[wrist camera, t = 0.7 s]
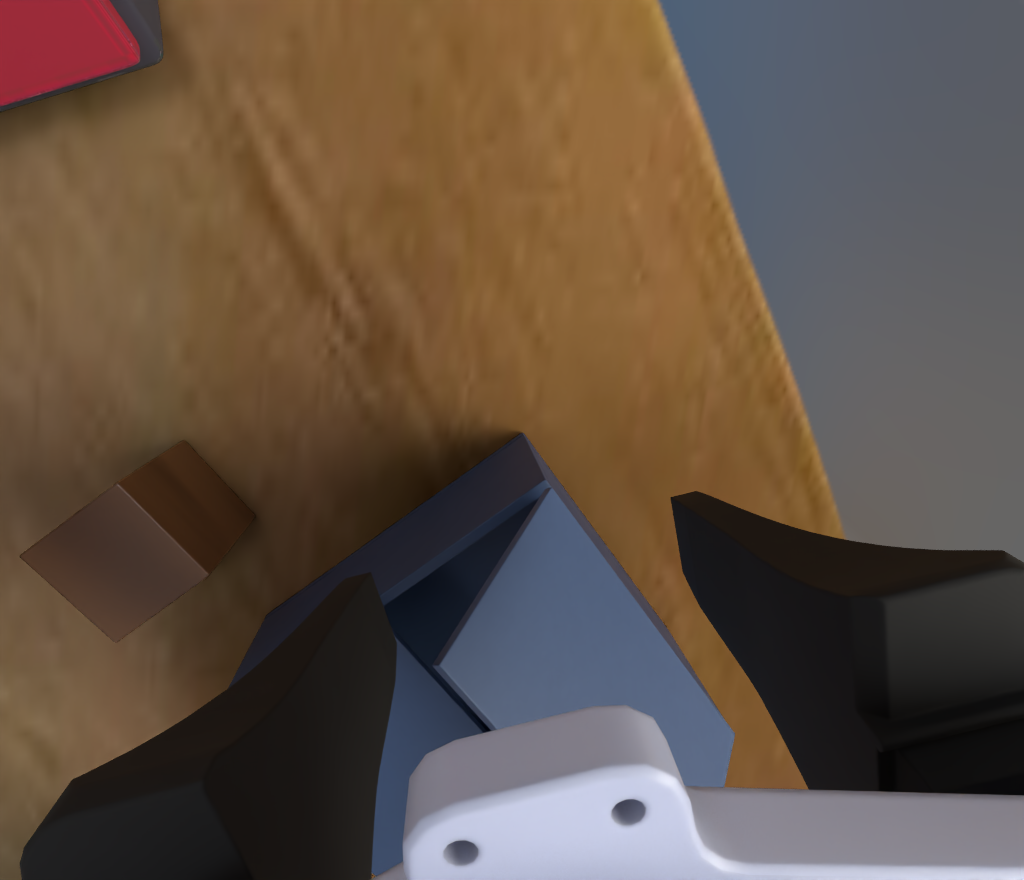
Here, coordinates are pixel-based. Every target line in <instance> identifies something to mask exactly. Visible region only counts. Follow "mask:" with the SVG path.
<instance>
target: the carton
mask: <svg viewBox="0 0 1024 880" xmlns="http://www.w3.org/2000/svg"><path fill="white" fill-rule="evenodd" d="M550 487H552V488H553V489H554V491H555V492H556V493H557V495H558V496H559V497H560V499H561V500H562V501H563V503H564V504H565V506H566V507H567V508H568V510H569V511H570V512H571V514H572V515H573V516H574V518H575V519H576V520H577V522H578V523H579V524H580V526H581V527H582V528H583V530H584V531H585V532H586V534H587V535H588V537H589V538H590V539H591V541H592V542H593V543H594V545H595V546H596V547H597V549H598V550H599V551H600V553H601V554H602V555H603V557H604V558H605V559H606V561H607V562H608V563H609V565H610V566H611V568H612V569H613V570H614V572H615V573H616V574H617V576H618V577H619V578H620V580H621V581H622V582H623V584H624V585H625V586H626V588H627V589H628V590H629V592H630V593H631V594H632V596H633V597H634V599H635V600H636V601H637V603H638V604H639V605H640V607H641V608H642V609H643V611H644V612H645V613H646V615H647V616H648V617H649V619H650V620H651V621H652V623H653V624H654V625H655V627H656V628H657V630H658V631H659V632H660V634H661V635H662V636H663V638H664V639H665V640H666V642H667V643H668V644H669V646H670V647H671V648H672V650H673V651H674V652H675V654H676V655H677V657H678V658H679V659H680V661H681V662H682V663H683V665H684V666H685V667H686V669H687V670H688V671H689V673H690V674H691V675H692V677H693V678H694V679H695V681H696V682H697V683H698V685H699V686H700V688H701V689H702V690H703V692H704V693H705V694H706V696H707V697H708V698H709V700H710V701H711V702H712V704H713V705H714V706H715V704H714V702H713V701H712V699H711V697H710V696H709V694H708V693H707V691H706V689H705V688H704V686H703V685H702V683H701V681H700V680H699V678H698V677H697V675H696V673H695V672H694V670H693V669H692V667H691V665H690V664H689V662H688V661H687V659H686V657H685V656H684V654H683V653H682V651H681V649H680V648H679V646H678V645H677V643H676V641H675V640H674V638H673V637H672V635H671V633H670V632H669V630H668V629H667V628H666V626H665V625H664V624H663V622H662V621H661V619H660V618H659V617H658V615H657V614H656V613H655V611H654V610H653V609H652V607H651V606H650V604H649V603H648V602H647V600H646V599H645V598H644V596H643V595H642V594H641V592H640V591H639V590H638V588H637V587H636V585H635V584H634V583H633V581H632V580H631V579H630V577H629V576H628V575H627V573H626V572H625V570H624V569H623V568H622V566H621V565H620V564H619V562H618V561H617V560H616V558H615V557H614V555H613V554H612V553H611V551H610V550H609V549H608V547H607V546H606V545H605V543H604V542H603V541H602V539H601V538H600V536H599V535H598V534H597V532H596V531H595V530H594V528H593V527H592V526H591V524H590V523H589V521H588V520H587V519H586V517H585V516H584V515H583V513H582V512H581V511H580V509H579V508H578V506H577V505H576V504H575V502H574V501H573V500H572V498H571V497H570V496H569V494H568V493H567V492H566V490H565V489H564V487H563V486H562V485H561V483H560V482H559V481H558V479H557V478H556V477H555V475H554V474H553V472H552V471H551V470H550V468H549V467H548V466H547V464H546V463H545V462H544V460H543V459H542V458H541V456H540V455H539V453H538V452H537V451H536V449H535V448H534V447H533V445H532V444H531V443H530V441H529V440H528V438H527V437H526V436H525V434H524V433H521V434H519V435H518V436H517V437H515V438H514V439H512V440H511V441H510V442H508V443H507V444H505V445H504V446H503V447H501V448H500V449H498V450H497V451H496V452H494V453H493V454H491V455H490V456H489V457H487V458H486V459H484V460H483V461H482V462H480V463H479V464H477V465H476V466H475V467H473V468H472V469H470V470H469V471H468V472H466V473H465V474H463V475H462V476H461V477H459V478H458V479H456V480H455V481H454V482H452V483H451V484H449V485H448V486H447V487H445V488H444V489H442V490H441V491H440V492H438V493H437V494H435V495H434V496H433V497H431V498H430V499H428V500H427V501H426V502H424V503H423V504H421V505H420V506H419V507H417V508H416V509H414V510H413V511H412V512H410V513H409V514H407V515H406V516H404V517H403V518H402V519H400V520H399V521H397V522H396V523H395V524H393V525H392V526H390V527H389V528H388V529H386V530H385V531H383V532H382V533H381V534H379V535H378V536H376V537H375V538H374V539H372V540H371V541H369V542H368V543H367V544H365V545H364V546H362V547H361V548H360V549H358V550H357V551H355V552H354V553H353V554H351V555H350V556H348V557H347V558H346V559H344V560H343V561H341V562H340V563H339V564H337V565H336V566H334V567H333V568H332V569H330V570H329V571H327V572H326V573H325V574H323V575H322V576H320V577H319V578H318V579H316V580H315V581H313V582H312V583H311V584H309V585H308V586H306V587H305V588H304V589H302V590H301V591H299V592H298V593H297V594H295V595H294V596H292V597H291V598H290V599H288V600H287V601H285V602H284V603H283V604H281V605H280V606H278V607H277V608H276V609H274V610H273V611H271V612H270V613H269V614H267V615H266V617H265V619H264V621H263V623H262V625H261V627H260V628H259V630H258V632H257V634H256V636H255V638H254V640H253V642H252V644H251V646H250V648H249V649H248V651H247V653H246V655H245V657H244V659H243V661H242V663H241V665H240V667H239V668H238V670H237V672H236V674H235V676H234V678H233V680H232V682H231V684H230V686H229V687H231V686H232V685H233V684H235V683H236V682H237V681H238V680H240V679H241V678H242V677H243V676H245V675H246V674H247V673H248V672H250V671H251V670H252V669H253V668H254V667H255V666H257V665H258V664H259V663H260V662H261V661H262V660H264V659H265V658H266V657H267V656H268V655H269V654H270V653H271V652H272V651H273V650H274V649H275V648H276V647H277V646H278V645H279V644H280V643H282V642H283V641H284V640H285V639H286V638H287V637H288V636H289V635H290V634H291V633H292V632H293V631H294V630H295V629H296V628H297V627H298V626H299V625H300V624H301V623H302V622H303V621H304V620H305V619H306V618H307V617H308V616H309V615H310V613H311V612H312V611H313V610H314V609H315V608H316V607H317V606H318V605H319V604H320V603H321V602H322V601H323V600H324V599H325V598H326V597H327V596H328V595H329V594H330V593H331V591H332V590H333V589H334V588H335V587H336V586H337V585H339V584H340V583H341V582H342V581H343V580H344V579H345V578H349V577H353V576H357V575H361V574H365V573H369V572H371V574H372V576H373V579H374V582H375V585H376V587H377V590H378V593H379V595H380V598H381V601H382V604H383V606H384V609H385V612H386V615H387V617H388V620H389V623H390V625H391V628H392V631H393V634H394V636H395V639H396V642H397V660H396V681H395V688H394V694H393V699H392V705H391V711H390V716H389V721H388V727H387V732H386V738H385V743H384V748H383V754H382V759H381V764H380V770H379V777H378V785H377V794H376V807H375V821H374V835H373V854H372V873H373V874H374V875H375V876H378V875H380V874H381V873H383V872H385V871H387V870H388V869H390V868H392V867H394V866H396V865H397V864H399V863H401V862H403V845H402V844H403V835H404V825H405V816H406V806H407V797H408V787H409V778H410V776H411V775H412V773H413V772H414V770H415V769H416V767H417V766H418V765H419V763H420V762H421V760H422V759H423V757H424V756H425V755H426V754H427V753H429V752H431V751H433V750H436V749H438V748H440V747H442V746H444V745H446V744H448V743H450V742H452V741H454V740H457V739H461V738H465V737H469V736H474V735H478V734H482V733H486V732H490V731H491V730H490V729H489V728H488V726H487V725H486V724H485V723H484V722H483V721H482V720H481V719H480V718H479V717H478V715H477V714H476V713H475V712H474V711H473V710H472V709H471V708H470V707H469V706H468V705H467V703H466V702H465V701H464V700H463V699H462V698H461V697H460V696H459V695H458V694H457V692H456V691H455V690H454V689H453V688H452V687H451V686H450V685H449V684H448V683H447V682H446V680H445V679H444V678H443V677H442V676H441V675H440V674H439V673H438V672H437V671H436V669H435V668H434V667H433V666H432V665H433V663H434V661H435V660H436V658H437V657H438V655H439V654H440V652H441V651H442V649H443V647H444V646H445V644H446V643H447V641H448V640H449V638H450V637H451V635H452V633H453V632H454V630H455V629H456V627H457V626H458V624H459V622H460V621H461V619H462V618H463V616H464V615H465V613H466V612H467V610H468V608H469V607H470V605H471V604H472V602H473V601H474V599H475V598H476V596H477V594H478V593H479V591H480V590H481V588H482V587H483V585H484V584H485V582H486V580H487V579H488V577H489V576H490V574H491V573H492V571H493V569H494V568H495V566H496V565H497V563H498V562H499V560H500V559H501V557H502V555H503V554H504V552H505V551H506V549H507V548H508V546H509V545H510V543H511V541H512V540H513V538H514V537H515V535H516V534H517V532H518V531H519V529H520V527H521V526H522V524H523V523H524V521H525V520H526V518H527V516H528V515H529V513H530V512H531V510H532V509H533V507H534V506H535V504H536V502H537V501H538V499H539V498H540V496H541V495H542V493H543V492H544V490H545V489H547V488H550ZM715 708H716V709H717V707H716V706H715ZM717 710H718V709H717ZM718 712H719V710H718ZM719 713H720V712H719ZM721 716H722V715H721ZM723 719H724V718H723Z"/></svg>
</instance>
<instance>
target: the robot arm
mask: <svg viewBox="0 0 1024 880" xmlns="http://www.w3.org/2000/svg"><path fill="white" fill-rule="evenodd" d="M671 503H672V509H673V515H674V521H675V527H676V533H677V539H678V545H679V552H680V558H681V564H682V570H683V573H684V575H685V577H686V580H687V582H688V584H689V586H690V588H691V590H692V592H693V594H694V596H695V598H696V600H697V602H698V604H699V606H700V607H701V609H702V610H703V612H704V613H705V615H706V616H707V618H708V619H709V621H710V622H711V624H712V625H713V627H714V628H715V630H716V631H717V632H718V634H719V635H720V637H721V638H722V640H723V641H724V643H725V644H726V646H727V647H728V648H729V650H730V651H731V653H732V654H733V656H734V657H735V659H736V660H737V661H738V663H739V664H740V666H741V667H742V669H743V670H744V672H745V673H746V675H747V676H748V677H749V679H750V681H751V682H752V684H753V685H754V687H755V689H756V690H757V692H758V693H759V695H760V697H761V699H762V700H763V702H764V704H765V706H766V708H767V710H768V712H769V713H770V715H771V717H772V719H773V721H774V723H775V725H776V726H777V728H778V730H779V732H780V734H781V736H782V738H783V740H784V742H785V744H786V745H787V747H788V749H789V751H790V753H791V755H792V757H793V759H794V761H795V763H796V765H797V767H798V769H799V771H800V773H801V775H802V776H803V778H804V780H805V782H806V785H807V787H808V789H809V790H803V789H768V788H732V787H697V786H685V785H684V783H683V781H682V778H681V776H680V773H679V771H678V768H677V765H676V763H675V760H674V758H673V755H672V753H671V750H670V748H669V745H668V743H667V740H666V738H665V737H664V735H663V733H662V732H661V730H660V728H659V727H658V725H657V723H656V721H655V720H654V718H653V717H651V716H649V715H646V714H644V713H642V712H640V711H638V710H636V709H634V708H631V707H629V706H627V705H615V706H592V707H588V708H584V709H580V710H576V711H571V712H567V713H563V714H559V715H555V716H551V717H547V718H543V719H539V720H535V721H531V722H527V723H523V724H518V725H514V726H510V727H506V728H502V729H498V730H494V731H490V732H486V733H482V734H478V735H474V736H469V737H465V738H461V739H457V740H454V741H452V742H450V743H448V744H446V745H444V746H442V747H440V748H438V749H436V750H433V751H431V752H429V753H427V754H426V755H425V756H424V757H423V759H422V760H421V762H420V763H419V765H418V766H417V767H416V769H415V770H414V772H413V773H412V775H411V776H410V778H409V787H408V797H407V806H406V816H405V825H404V835H403V844H402V845H403V862H401V863H399V864H397V865H396V866H394V867H392V868H390V869H388V870H387V871H385V872H383V873H381V874H380V875H378V876H376V877H374V878H373V879H371V874H372V854H373V835H374V821H375V807H376V794H377V785H378V777H379V770H380V764H381V759H382V754H383V748H384V743H385V738H386V732H387V727H388V721H389V716H390V711H391V705H392V699H393V694H394V688H395V681H396V660H397V642H396V639H395V636H394V634H393V631H392V628H391V625H390V623H389V620H388V617H387V615H386V612H385V609H384V606H383V604H382V601H381V598H380V595H379V593H378V590H377V587H376V585H375V582H374V579H373V576H372V574H371V572H369V573H365V574H361V575H357V576H353V577H349V578H345V579H344V580H343V581H342V582H341V583H340V584H339V585H337V586H336V587H335V588H334V589H333V590H332V591H331V593H330V594H329V595H328V596H327V597H326V598H325V599H324V600H323V601H322V602H321V603H320V604H319V605H318V606H317V607H316V608H315V609H314V610H313V611H312V612H311V613H310V615H309V616H308V617H307V618H306V619H305V620H304V621H303V622H302V623H301V624H300V625H299V626H298V627H297V628H296V629H295V630H294V631H293V632H292V633H291V634H290V635H289V636H288V637H287V638H286V639H285V640H284V641H283V642H282V643H280V644H279V645H278V646H277V647H276V648H275V649H274V650H273V651H272V652H271V653H270V654H269V655H268V656H267V657H266V658H265V659H264V660H262V661H261V662H260V663H259V664H258V665H257V666H255V667H254V668H253V669H252V670H251V671H250V672H248V673H247V674H246V675H245V676H243V677H242V678H241V679H240V680H238V681H237V682H236V683H235V684H233V685H232V686H231V687H229V688H228V689H227V690H225V691H224V692H223V693H221V694H220V695H218V696H217V697H216V698H214V699H213V700H211V701H210V702H208V703H207V704H205V705H204V706H203V707H201V708H200V709H198V710H197V711H195V712H194V713H193V714H191V715H190V716H188V717H187V718H185V719H184V720H182V721H180V722H179V723H177V724H175V725H174V726H172V727H171V728H169V729H167V730H166V731H164V732H162V733H161V734H159V735H157V736H156V737H154V738H152V739H150V740H149V741H147V742H145V743H143V744H142V745H140V746H138V747H136V748H134V749H133V750H131V751H129V752H127V753H125V754H123V755H121V756H119V757H117V758H115V759H113V760H111V761H109V762H107V763H105V764H103V765H101V766H99V767H97V768H95V769H93V770H91V771H89V772H87V773H85V774H83V775H81V776H79V777H77V778H75V779H73V780H72V781H71V782H70V783H69V785H68V786H67V788H66V789H65V790H64V792H63V793H62V795H61V796H60V798H59V799H58V800H57V802H56V803H55V805H54V806H53V807H52V809H51V810H50V812H49V813H48V814H47V816H46V817H45V819H44V820H43V821H42V823H41V824H40V826H39V827H38V828H37V830H36V831H35V833H34V834H33V836H32V837H31V838H30V840H29V841H28V843H27V844H26V845H25V847H24V850H23V853H22V857H21V861H20V870H21V877H22V880H1024V563H1023V562H1022V561H1020V560H1018V559H1017V558H1015V557H1013V556H1012V555H1010V554H1008V553H1006V552H1005V551H1002V550H1000V551H999V550H985V551H984V550H973V551H972V550H963V551H962V550H956V551H955V550H954V551H953V550H928V549H912V548H901V547H891V546H882V545H875V544H868V543H861V542H855V541H849V540H844V539H838V538H834V537H830V536H825V535H821V534H817V533H812V532H808V531H805V530H801V529H798V528H794V527H791V526H788V525H785V524H782V523H779V522H776V521H773V520H770V519H767V518H764V517H761V516H759V515H756V514H753V513H751V512H748V511H746V510H743V509H741V508H738V507H736V506H733V505H731V504H728V503H726V502H724V501H721V500H719V499H716V498H714V497H711V496H709V495H706V494H704V493H701V492H698V491H694V492H690V493H686V494H682V495H678V496H674V497H671Z"/></svg>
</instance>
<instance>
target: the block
mask: <svg viewBox="0 0 1024 880" xmlns="http://www.w3.org/2000/svg"><path fill="white" fill-rule="evenodd" d="M254 518H255V515H254V514H253V513H252V512H251V511H250V510H249V509H248V508H247V506H246V505H245V504H244V503H243V502H242V501H241V500H240V499H239V498H238V497H237V496H236V495H235V494H234V493H233V492H232V490H231V489H230V488H229V487H228V486H227V485H226V484H225V483H224V482H223V481H222V480H221V479H220V478H219V477H218V475H217V474H216V473H215V472H214V471H213V470H212V469H211V468H210V467H209V466H208V465H207V464H206V463H205V462H204V461H203V459H202V458H201V457H200V456H199V455H198V454H197V453H196V452H195V451H194V450H193V449H192V448H191V447H190V446H189V445H188V443H187V442H186V441H184V440H183V441H181V442H180V443H178V444H177V445H175V446H173V447H172V448H170V449H169V450H167V451H166V452H164V453H162V454H161V455H159V456H158V457H156V458H155V459H153V460H151V461H150V462H148V463H147V464H145V465H143V466H142V467H140V468H139V469H137V470H136V471H134V472H132V473H131V474H129V475H128V476H126V477H125V478H123V479H121V480H120V481H118V482H117V483H115V484H114V485H113V486H111V487H110V488H109V489H107V490H106V491H105V492H103V493H102V494H101V495H99V496H98V497H97V498H95V499H94V500H93V501H91V502H90V503H89V504H87V505H86V506H85V507H83V508H82V509H81V510H79V511H78V512H77V513H75V514H74V515H73V516H71V517H70V518H69V519H67V520H66V521H65V522H63V523H62V524H61V525H59V526H58V527H57V528H55V529H54V530H53V531H51V532H50V533H49V534H47V535H46V536H45V537H43V538H42V539H41V540H39V541H38V542H37V543H35V544H34V545H33V546H31V547H30V548H29V549H27V550H26V551H25V552H23V553H22V554H21V555H20V558H21V559H23V560H24V561H25V562H26V563H27V564H28V565H29V566H30V567H31V568H33V569H34V570H35V571H36V572H37V573H38V574H39V575H40V576H41V577H43V578H44V579H45V580H46V581H47V582H48V583H49V584H50V585H51V586H52V587H54V588H55V589H56V590H57V591H58V592H59V593H60V594H61V595H62V596H64V597H65V598H66V599H67V600H68V601H69V602H70V603H71V604H72V605H74V606H75V607H76V608H77V609H78V610H79V611H80V612H81V613H82V614H84V615H85V616H86V617H87V618H88V619H89V620H90V621H91V622H92V623H94V624H95V625H96V626H97V627H98V628H99V629H100V630H101V631H102V632H104V633H105V634H106V635H107V636H108V637H109V638H110V639H111V640H112V641H114V642H115V643H117V642H118V641H120V640H121V639H123V638H124V637H125V636H127V635H128V634H129V633H131V632H132V631H134V630H135V629H136V628H138V627H139V626H140V625H142V624H143V623H145V622H146V621H147V620H149V619H150V618H151V617H153V616H154V615H156V614H157V613H158V612H160V611H161V610H162V609H164V608H165V607H167V606H168V605H169V604H171V603H172V602H173V601H175V600H176V599H178V598H179V597H180V596H182V595H183V594H185V593H186V592H187V591H189V590H190V589H191V588H193V587H194V586H196V585H197V584H198V583H200V582H201V581H202V580H204V579H205V578H207V577H208V576H209V575H210V574H211V573H212V571H213V570H214V569H215V568H216V566H217V565H218V564H219V562H220V561H221V560H222V559H223V557H224V556H225V555H226V554H227V552H228V551H229V550H230V548H231V547H232V546H233V545H234V543H235V542H236V541H237V540H238V538H239V537H240V536H241V534H242V533H243V532H244V531H245V529H246V528H247V527H248V525H249V524H250V523H251V522H252V520H253V519H254Z"/></svg>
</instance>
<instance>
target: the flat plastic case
mask: <svg viewBox="0 0 1024 880" xmlns="http://www.w3.org/2000/svg"><path fill="white" fill-rule="evenodd" d="M162 58H163V42H162V33H161V24H160V15H159V7H158V0H0V112H2V111H5V110H9V109H12V108H15V107H18V106H22V105H25V104H28V103H32V102H35V101H38V100H41V99H45V98H48V97H51V96H54V95H58V94H61V93H64V92H67V91H71V90H74V89H77V88H81V87H84V86H87V85H90V84H94V83H97V82H100V81H103V80H107V79H110V78H113V77H116V76H120V75H123V74H126V73H130V72H133V71H136V70H139V69H143V68H146V67H149V66H152V65H155V64H157V63H159V62H160V61H161V60H162Z"/></svg>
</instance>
